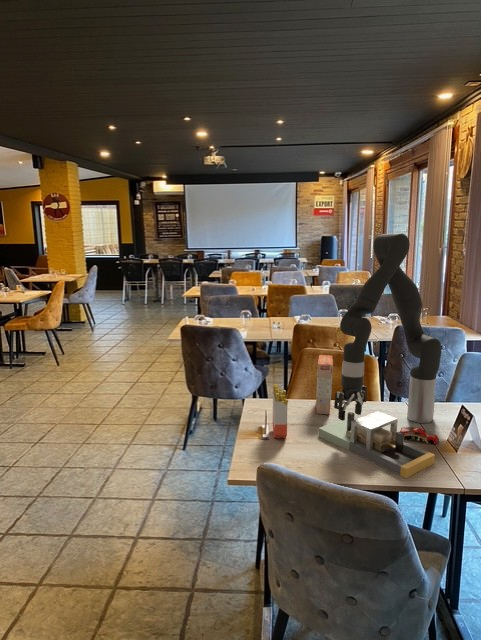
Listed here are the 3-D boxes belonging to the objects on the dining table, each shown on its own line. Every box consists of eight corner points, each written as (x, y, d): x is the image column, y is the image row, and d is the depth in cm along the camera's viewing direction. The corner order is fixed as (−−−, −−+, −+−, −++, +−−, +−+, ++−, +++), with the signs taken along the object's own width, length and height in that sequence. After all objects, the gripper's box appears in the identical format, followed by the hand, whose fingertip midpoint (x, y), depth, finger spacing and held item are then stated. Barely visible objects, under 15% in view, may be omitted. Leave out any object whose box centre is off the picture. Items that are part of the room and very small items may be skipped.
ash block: (367, 433, 167) (367, 422, 166) (391, 443, 159) (392, 432, 158) (355, 437, 164) (356, 426, 163) (380, 448, 156) (380, 437, 155)
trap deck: (346, 425, 181) (346, 417, 180) (434, 463, 152) (434, 454, 152) (318, 435, 172) (318, 428, 171) (405, 478, 144) (406, 469, 143)
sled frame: (356, 424, 173) (357, 409, 172) (411, 447, 156) (412, 430, 154) (338, 432, 167) (338, 415, 166) (392, 456, 150) (393, 439, 148)
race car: (439, 440, 169) (440, 430, 168) (438, 447, 164) (439, 436, 163) (400, 433, 175) (401, 423, 174) (398, 439, 170) (398, 428, 169)
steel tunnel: (376, 431, 169) (377, 411, 167) (396, 439, 162) (397, 418, 161) (350, 441, 160) (351, 420, 159) (369, 450, 154) (371, 429, 153)
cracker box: (330, 415, 190) (332, 364, 186) (315, 414, 191) (316, 363, 187) (331, 402, 203) (333, 355, 199) (316, 401, 204) (318, 354, 200)
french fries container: (284, 428, 178) (285, 382, 174) (287, 441, 167) (289, 392, 164) (272, 428, 178) (273, 382, 174) (274, 441, 167) (275, 392, 164)
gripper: (357, 366, 172) (354, 409, 175) (330, 373, 164) (327, 418, 167) (374, 372, 166) (371, 416, 170) (347, 379, 158) (344, 425, 161)
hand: (349, 417), depth 168 cm, fingers open, 8 cm apart
